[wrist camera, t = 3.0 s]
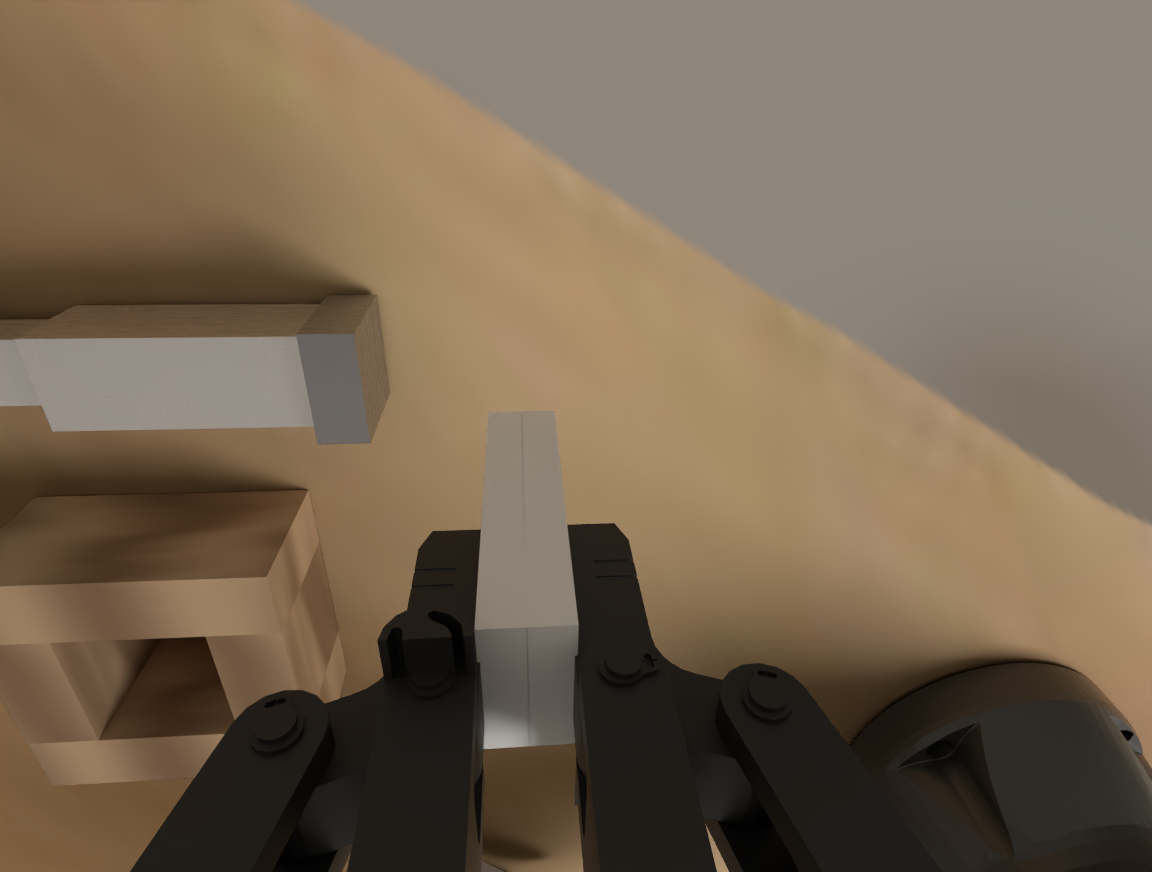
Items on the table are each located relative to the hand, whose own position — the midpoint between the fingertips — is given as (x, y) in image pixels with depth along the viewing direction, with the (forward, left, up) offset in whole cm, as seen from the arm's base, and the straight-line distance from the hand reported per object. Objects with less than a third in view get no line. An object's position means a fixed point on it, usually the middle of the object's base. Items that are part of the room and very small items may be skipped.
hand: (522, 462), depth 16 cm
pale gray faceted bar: (+12, 0, -9) cm, 14 cm away
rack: (+13, +11, -9) cm, 20 cm away
